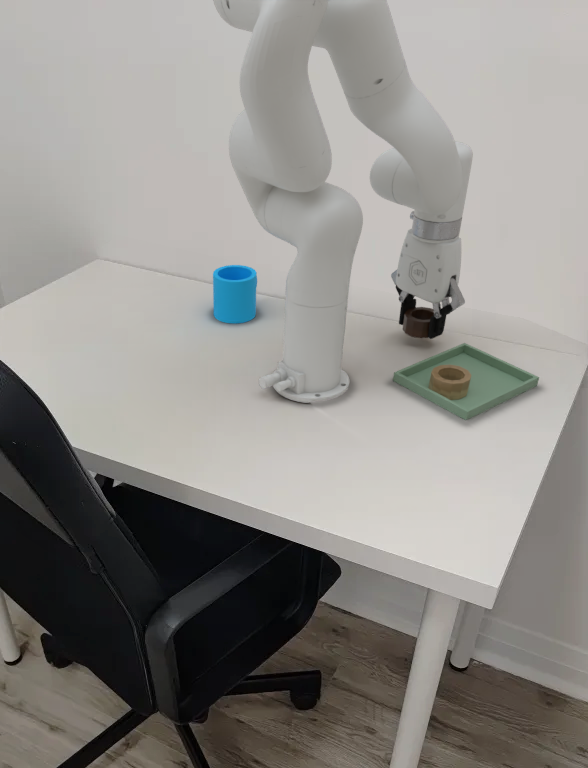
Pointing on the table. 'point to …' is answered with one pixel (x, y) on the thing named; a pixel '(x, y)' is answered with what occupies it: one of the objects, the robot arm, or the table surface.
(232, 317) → the mug
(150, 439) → the table surface
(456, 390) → the birch ring
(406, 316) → the walnut ring
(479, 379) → the tray
